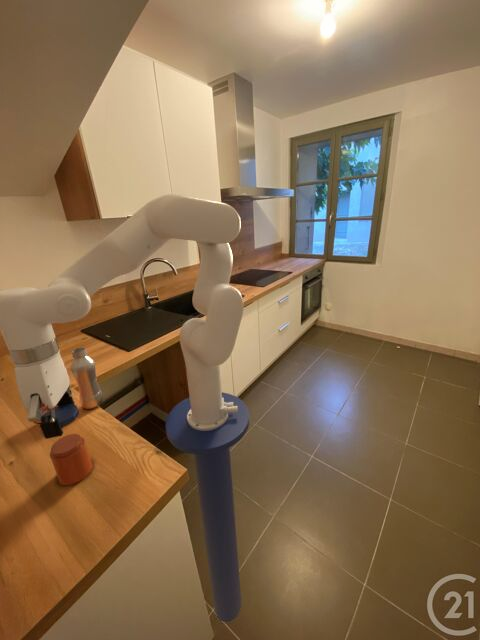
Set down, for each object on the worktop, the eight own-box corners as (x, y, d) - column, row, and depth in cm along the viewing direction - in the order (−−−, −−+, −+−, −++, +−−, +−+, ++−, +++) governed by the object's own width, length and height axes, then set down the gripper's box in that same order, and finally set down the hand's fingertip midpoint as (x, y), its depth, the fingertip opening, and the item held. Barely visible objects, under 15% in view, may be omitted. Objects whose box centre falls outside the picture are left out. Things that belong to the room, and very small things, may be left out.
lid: (32, 428, 55) (30, 423, 54) (62, 406, 61) (61, 401, 61) (58, 433, 53) (56, 428, 52) (86, 410, 59) (84, 405, 59)
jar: (97, 459, 65) (89, 431, 62) (83, 484, 59) (73, 454, 56) (69, 461, 65) (60, 433, 62) (52, 486, 58) (40, 456, 56)
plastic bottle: (80, 405, 86) (63, 350, 80) (102, 396, 90) (88, 343, 84) (84, 414, 82) (67, 357, 75) (107, 405, 86) (93, 349, 79)
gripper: (35, 337, 59) (59, 402, 65) (-17, 377, 43) (21, 459, 49) (72, 332, 60) (92, 397, 66) (35, 369, 44) (65, 450, 50)
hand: (61, 423), depth 57 cm, fingers closed on lid, 7 cm apart
